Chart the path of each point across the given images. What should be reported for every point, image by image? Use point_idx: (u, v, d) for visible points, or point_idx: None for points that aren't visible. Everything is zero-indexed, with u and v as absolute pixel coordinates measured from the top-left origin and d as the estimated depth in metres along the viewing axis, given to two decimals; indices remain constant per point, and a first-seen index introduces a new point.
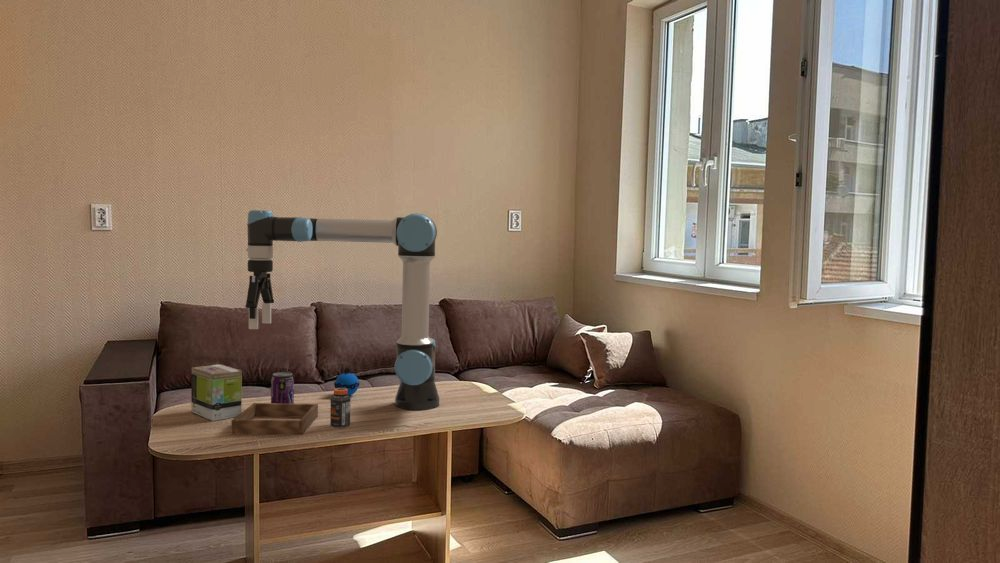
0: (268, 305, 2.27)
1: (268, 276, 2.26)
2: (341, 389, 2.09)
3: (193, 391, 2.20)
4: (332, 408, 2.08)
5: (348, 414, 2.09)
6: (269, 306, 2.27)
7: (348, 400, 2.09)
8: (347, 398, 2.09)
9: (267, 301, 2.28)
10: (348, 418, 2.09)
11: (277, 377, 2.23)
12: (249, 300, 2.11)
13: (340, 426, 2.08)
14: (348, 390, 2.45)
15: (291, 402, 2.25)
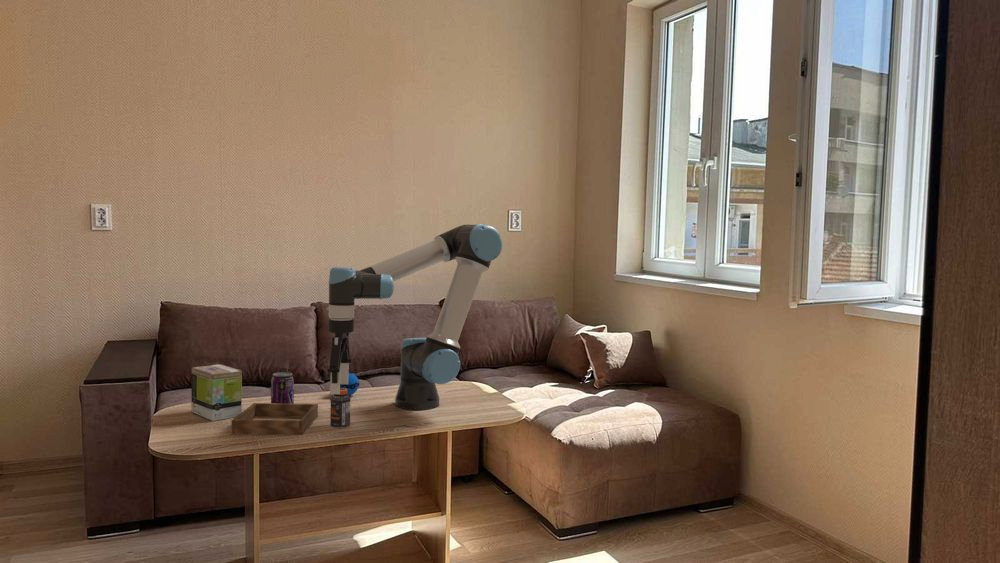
0: (346, 365, 2.16)
1: (347, 335, 2.14)
2: (341, 389, 2.09)
3: (193, 391, 2.20)
4: (332, 408, 2.08)
5: (348, 414, 2.09)
6: (347, 366, 2.16)
7: (348, 400, 2.09)
8: (347, 398, 2.09)
9: (344, 361, 2.16)
10: (348, 418, 2.09)
11: (277, 377, 2.23)
12: (332, 364, 1.99)
13: (340, 426, 2.08)
14: (348, 390, 2.45)
15: (291, 402, 2.25)
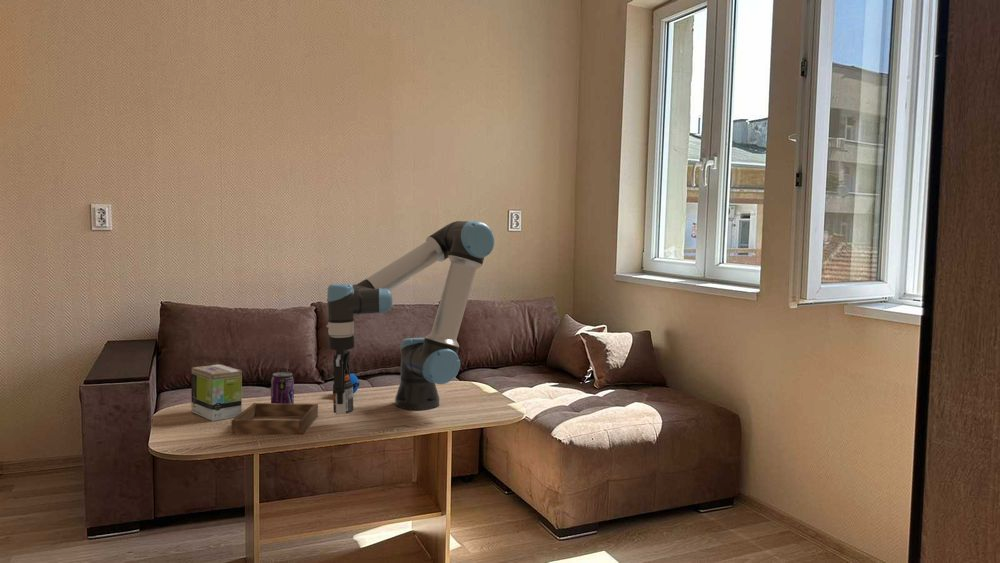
0: None
1: (348, 354, 2.15)
2: None
3: (193, 391, 2.20)
4: (335, 394, 2.08)
5: (351, 400, 2.09)
6: None
7: (350, 386, 2.09)
8: (349, 384, 2.09)
9: None
10: (351, 404, 2.09)
11: (277, 377, 2.23)
12: (337, 387, 2.03)
13: None
14: None
15: (291, 402, 2.25)
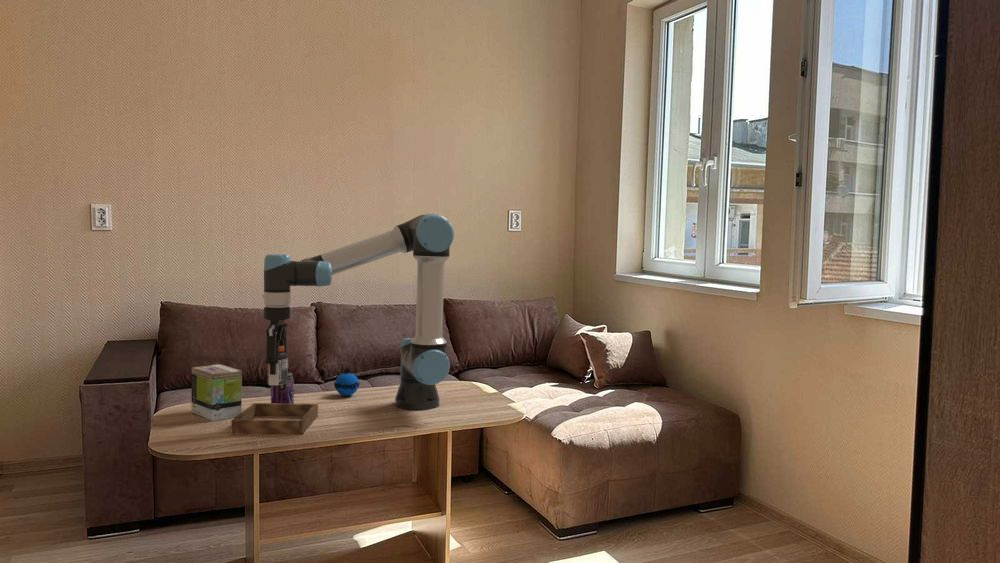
0: None
1: (285, 326, 2.13)
2: None
3: (193, 391, 2.20)
4: (268, 365, 2.06)
5: (285, 371, 2.08)
6: None
7: (284, 357, 2.07)
8: (283, 355, 2.07)
9: None
10: (285, 375, 2.08)
11: None
12: (269, 356, 2.02)
13: None
14: (348, 390, 2.45)
15: (291, 402, 2.25)
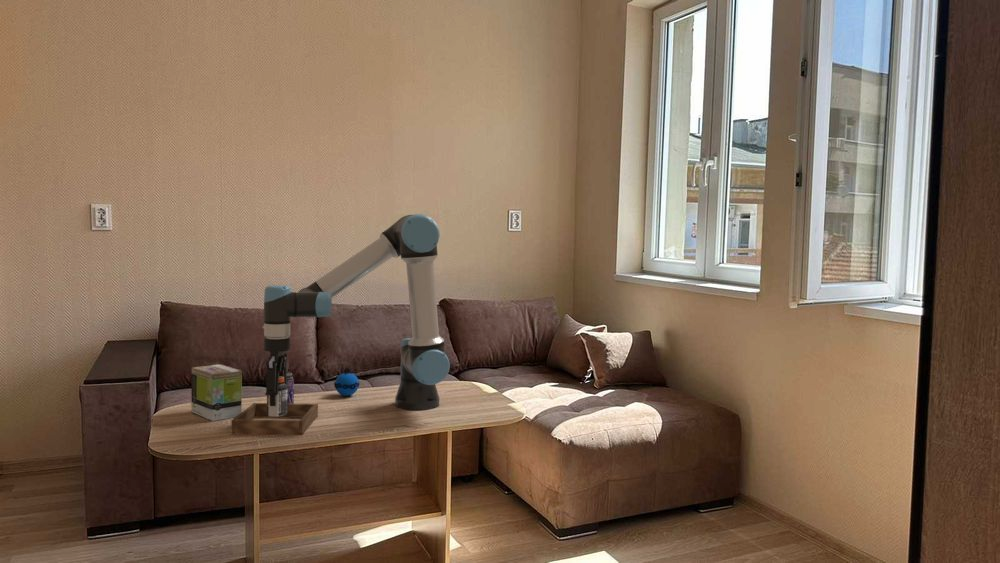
0: None
1: (285, 356, 2.14)
2: None
3: (193, 391, 2.20)
4: (268, 396, 2.07)
5: (284, 402, 2.08)
6: None
7: (284, 388, 2.08)
8: (283, 386, 2.08)
9: None
10: (284, 406, 2.08)
11: None
12: (269, 388, 2.02)
13: None
14: (348, 390, 2.45)
15: (291, 402, 2.25)
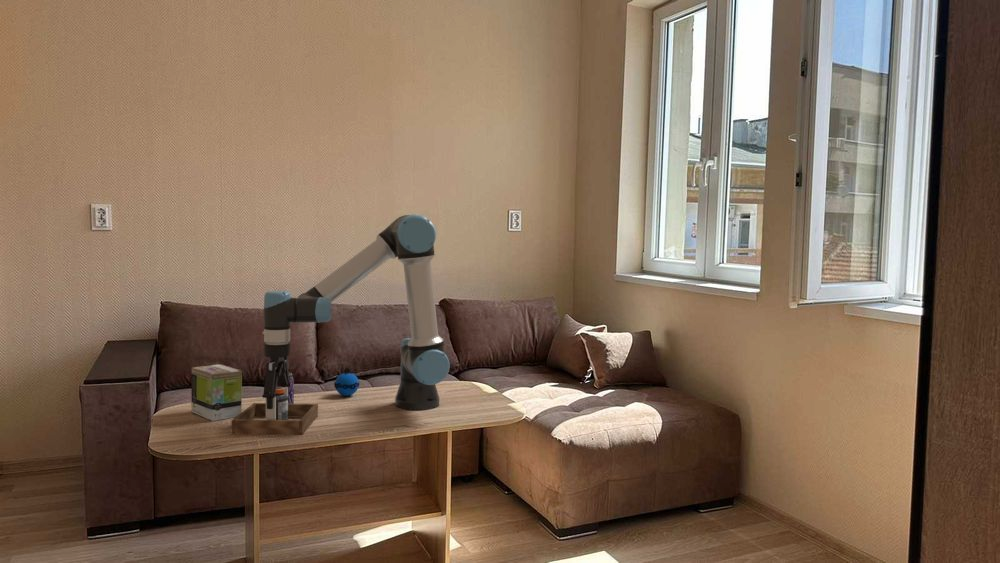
0: None
1: (285, 358, 2.14)
2: (278, 388, 2.09)
3: (193, 391, 2.20)
4: None
5: (285, 413, 2.08)
6: (285, 390, 2.15)
7: (285, 399, 2.08)
8: (284, 397, 2.08)
9: (283, 385, 2.16)
10: (285, 417, 2.09)
11: None
12: (267, 390, 2.00)
13: None
14: (348, 390, 2.45)
15: (291, 402, 2.25)
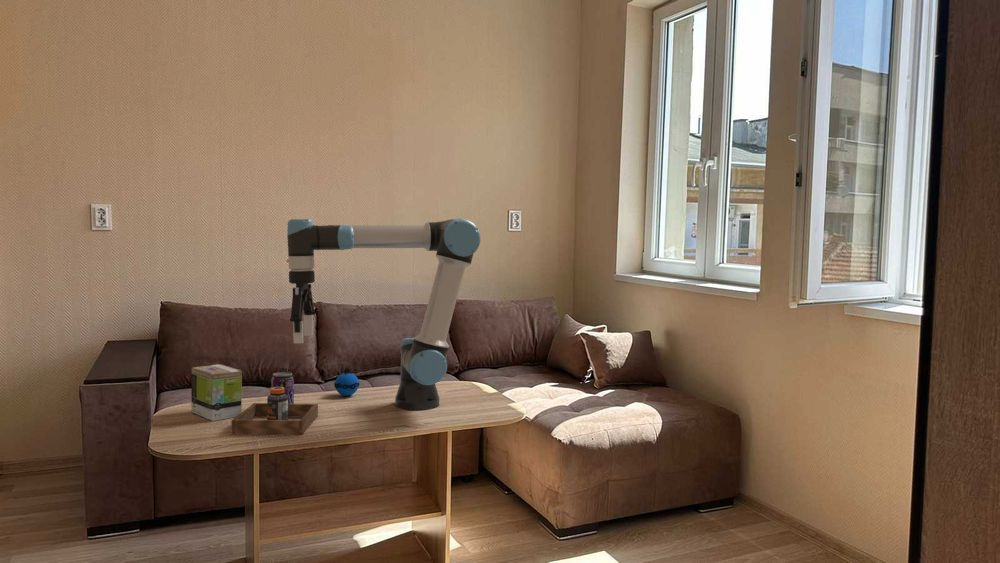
0: (310, 317, 2.19)
1: (309, 287, 2.17)
2: (278, 388, 2.09)
3: (193, 391, 2.20)
4: (268, 407, 2.07)
5: (285, 413, 2.08)
6: (311, 318, 2.19)
7: (285, 399, 2.08)
8: (284, 397, 2.08)
9: (308, 313, 2.19)
10: (285, 417, 2.08)
11: (277, 377, 2.23)
12: (294, 313, 2.02)
13: None
14: (348, 390, 2.45)
15: (291, 402, 2.25)
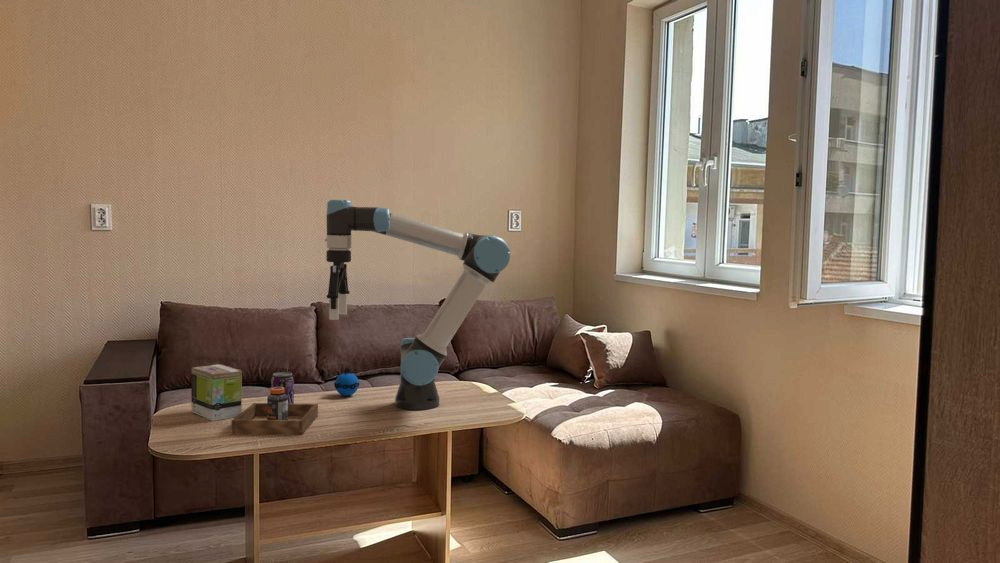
0: (344, 296, 2.25)
1: (344, 267, 2.24)
2: (278, 388, 2.09)
3: (193, 391, 2.20)
4: (268, 407, 2.07)
5: (285, 413, 2.08)
6: (345, 297, 2.25)
7: (285, 399, 2.08)
8: (284, 397, 2.08)
9: (343, 292, 2.26)
10: (285, 417, 2.09)
11: (277, 377, 2.23)
12: (331, 290, 2.09)
13: None
14: (348, 390, 2.45)
15: (291, 402, 2.25)
